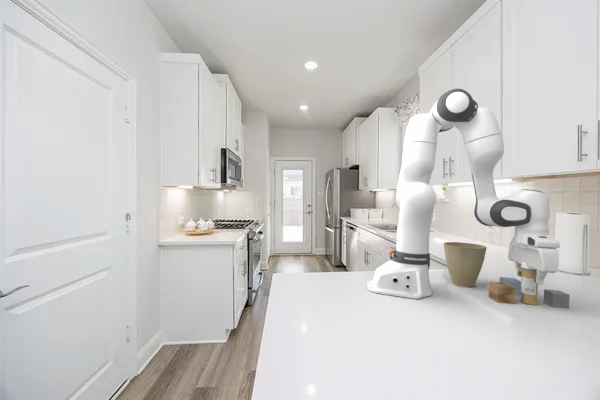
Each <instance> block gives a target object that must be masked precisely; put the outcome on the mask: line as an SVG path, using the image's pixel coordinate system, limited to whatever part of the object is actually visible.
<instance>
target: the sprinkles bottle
mask: <svg viewBox="0 0 600 400" xmlns="http://www.w3.org/2000/svg"><path fill="white" fill-rule="evenodd" d="M521 267H522V276H521V278H520V279H521V280H520V281H521V295H520V300H519V301H520V303H521V302H522V303H523V304H526V305H532V306H537V305H539V304H538V294H539V284H536V283H534V281H535V280H534V278H536V277H537V274H538V273H536V269H533V268H530V267H528V266H527V265H526V263H524V262H521Z"/></svg>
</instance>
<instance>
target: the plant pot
mask: <svg viewBox="0 0 600 400" xmlns="http://www.w3.org/2000/svg"><path fill="white" fill-rule="evenodd" d="M443 249H444V257H445V263H446V266H447V270H448V273H449V276H450V280H451V282H452V284H453V285H456V286H458V287H463V288H473V287H475V285H476V282H477V280H478V278H479V276H480V274H481V270H482V268H483V264H484V261H485V257H486V252H487V246H485V245H482V244H476V243H470V242H469V243H468V242H459V241H447V242H443Z"/></svg>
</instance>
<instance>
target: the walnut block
mask: <svg viewBox="0 0 600 400" xmlns="http://www.w3.org/2000/svg"><path fill="white" fill-rule="evenodd" d="M488 292H489V293H488V297H489V299H491V300H492V301H494V302H496V303H498V304H506V305H507V304H508V305H517V295H516V287H514V286H512V285H510V284H508V283H501V282H499V281H489V291H488Z"/></svg>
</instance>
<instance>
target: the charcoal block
mask: <svg viewBox="0 0 600 400" xmlns="http://www.w3.org/2000/svg"><path fill="white" fill-rule="evenodd" d="M570 295H571V294H570V293H569V294H568V293H567V292H564V291H563V290H559V289H558V290H555V289H547V288H544V289H543V303H544V304H546V305H548V306H550V307H552V308H557V309H570Z"/></svg>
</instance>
